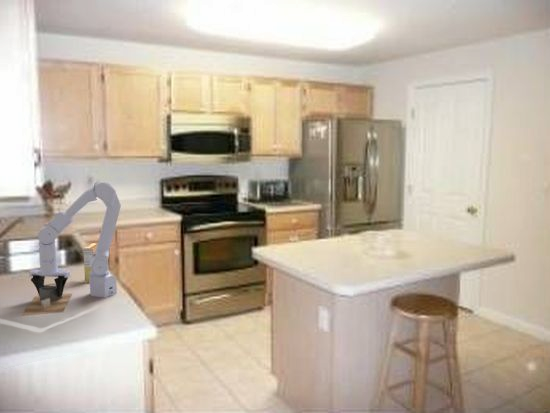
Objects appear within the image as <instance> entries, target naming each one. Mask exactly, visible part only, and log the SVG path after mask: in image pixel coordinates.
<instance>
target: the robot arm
mask: <svg viewBox="0 0 550 413" xmlns="http://www.w3.org/2000/svg"><path fill="white" fill-rule="evenodd" d="M98 199H100V201H102V203H103V204H104V206H106V209H105V214H104V218H103V220H102V225H101V228H100V233H99V237H98V241H97V243H96V244H97V247H96V249H95V252H94V255H93V256H92V257H91V258H90V261H89V264H90V267H91V272H90V273H89V280H90V284H89V294H90V296H92V297H98V298H105V299H106V298H108V297H110V296H114V295H115V294H117V293H118V291H117V290H118V289H117V279H116V277H115V276H114V275H112V274H111V273H110V270H109V266H110V265H109V261H108V260H109V255H110V250H111V245H112V242H113V237H114V233H115V230H116V228H117V227H116V226H117V222H118V220H119V219H118V218H119V215H120V211H121V207H122V206H121V202H120V200H119V197H118V195H117V191H116V190H115V188H114V187H113V186H112V185H111V184H110V183H109V182H107V181H106V180H99V181H98V180H97V181H96V182H95V183H94V185H91V186H90V187H88V188H87V189H86V190H84V191H83V193H82V194H80V196H79V197H78V198H76V200H75V201H74V202H73V203H72V204H71V205H70V206H68V208H67V209H66V210H60V211H59V212H57V211H56V212H54V215H53V217H52V218H51V219H50V220H49V221H48V222H44V224H43V225H44V226H42V227H41V228H40V229H39V231H38V232H37V240H38V241H39V242H38V246H39V247H38V252H39V255H38V256H39V265H40V266H39V268H40V269H31V270H29V271H28V276H29V278H30V277H31V278H30V281H31V283H33V284H34V287H35V288H36V291H37V294H38V295H39V296H40V293H39V288H42V287H44V285H45V278H46V277H48V278H49V277H50V278H51V277H52V278H54V279H53V280H54V284H56V287H57V296H58V297H60V296H62V295H63V294H64V288H65V285H66V283H67V281H68V279H69V277H71V274H70V273H71V272H70V270H62V269H59V268H58V250H57V246H56V238H57V236H58V235H61V234H62V232H63V231H64V230H66V229H67V227H69V226H70V225H71V224H72V223H73V219H74V218H73V217H74V216H75V215H76V214H77V213H79V211H81V209H83V208H84V207H85V206H87V204H89V203H90V202H95V201H98Z"/></svg>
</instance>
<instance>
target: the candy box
mask: <svg viewBox="0 0 550 413" xmlns="http://www.w3.org/2000/svg"><path fill="white" fill-rule="evenodd" d="M97 244H98V243H96V242H95V243H90V244H88V245H87V246H84V247H83V264H84V266H83V267H84V270H83V271H84V284H86V285H90V280H89V273H90V272H91V267H90V264H89V261H90V258H91V257H92V256H93V255H94V252H95V249H96V247H97Z"/></svg>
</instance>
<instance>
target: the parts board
mask: <svg viewBox="0 0 550 413" xmlns="http://www.w3.org/2000/svg"><path fill="white" fill-rule="evenodd" d="M72 296H73V292H70V293H69V292H68V293H67V292H66V293H63V295H62V298H61V299H58V300H56V301H53V302H50V307H49V308H46V309H42V308H41V301H40V296H39V294H38V295H35V296H34V297H33V298H32V299H31V302H29V304H28V305H27V307H26V308H25V309H24V311H23V312H22V313H21V315H20V316H30V315H31V316H32V315H33V316H34V315H44V314H45V315H47V314H56V313H64V311H65V309H66V307H67V306H68V303H69V301H70V299H71V298H72Z"/></svg>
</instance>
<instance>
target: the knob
mask: <svg viewBox="0 0 550 413" xmlns="http://www.w3.org/2000/svg"><path fill="white" fill-rule="evenodd" d="M39 293H40V301H41V300H44V299H47V298H50V302H53V301H56V300H58V299H61V298H62V296H60V297H58V296H57V287H56V283H48V284H44V287H42V288H39Z"/></svg>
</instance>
